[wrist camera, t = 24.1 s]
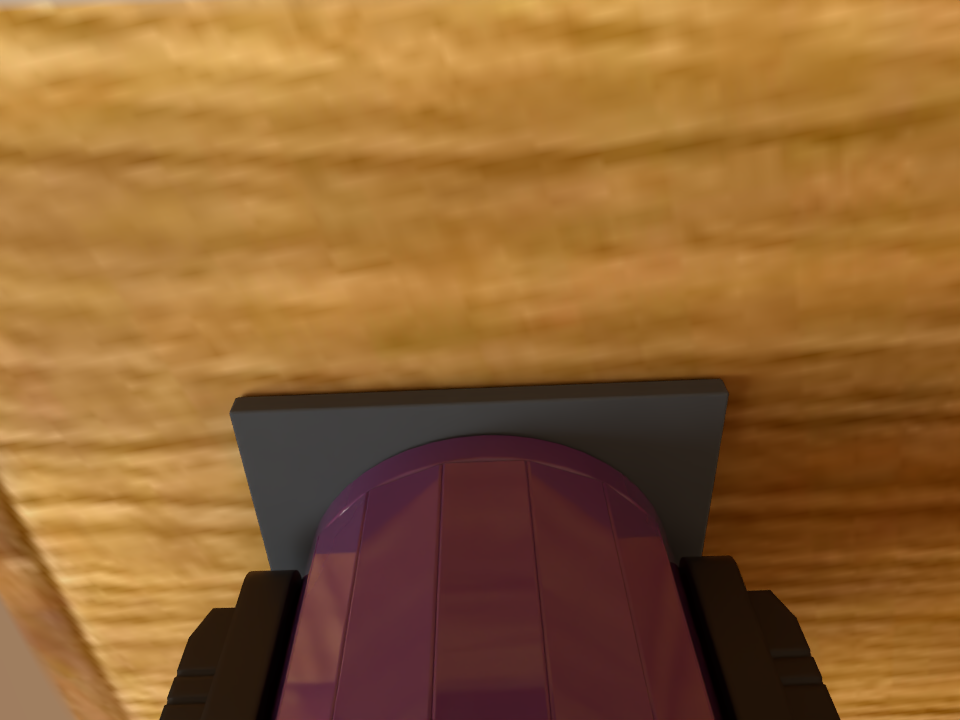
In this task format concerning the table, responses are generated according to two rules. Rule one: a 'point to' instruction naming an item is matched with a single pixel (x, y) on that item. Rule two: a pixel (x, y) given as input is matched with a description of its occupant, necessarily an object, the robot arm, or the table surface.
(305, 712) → the purple faceted tumbler
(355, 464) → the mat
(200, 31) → the table surface
